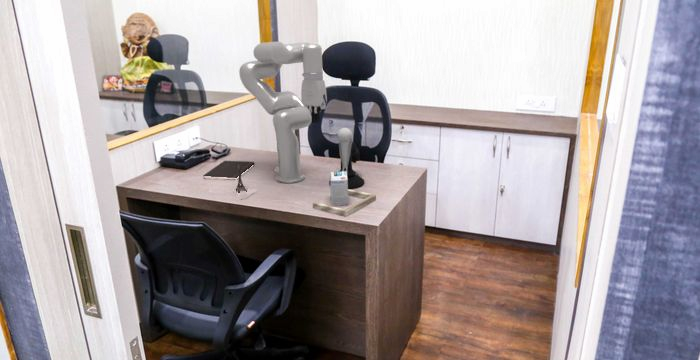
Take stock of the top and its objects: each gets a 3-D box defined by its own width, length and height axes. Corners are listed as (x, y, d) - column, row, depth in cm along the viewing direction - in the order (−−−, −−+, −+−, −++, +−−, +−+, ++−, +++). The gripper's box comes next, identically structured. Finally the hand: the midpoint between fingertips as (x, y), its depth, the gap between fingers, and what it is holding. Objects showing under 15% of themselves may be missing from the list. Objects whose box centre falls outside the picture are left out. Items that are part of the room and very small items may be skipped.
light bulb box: (330, 196, 212) (329, 171, 209) (347, 195, 213) (346, 170, 209) (331, 206, 202) (330, 180, 199) (348, 205, 203) (347, 179, 199)
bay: (312, 208, 201) (312, 203, 200) (343, 192, 216) (343, 188, 216) (346, 216, 192) (346, 211, 191) (375, 199, 207) (375, 195, 207)
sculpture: (325, 188, 221) (322, 131, 213) (338, 171, 243) (336, 118, 235) (360, 190, 218) (359, 132, 210) (370, 172, 240) (370, 119, 231)
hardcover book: (203, 180, 239) (202, 175, 238) (224, 165, 260) (224, 160, 259) (236, 181, 236) (235, 176, 235) (254, 166, 257) (254, 161, 256)
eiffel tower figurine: (244, 201, 211) (241, 170, 207) (222, 199, 214) (218, 169, 210) (261, 189, 225) (258, 159, 220) (240, 187, 228) (237, 158, 223)
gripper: (292, 76, 206) (295, 122, 212) (322, 79, 198) (324, 126, 204) (305, 74, 212) (307, 118, 218) (334, 76, 204) (336, 122, 210)
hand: (315, 122), depth 211 cm, fingers closed
